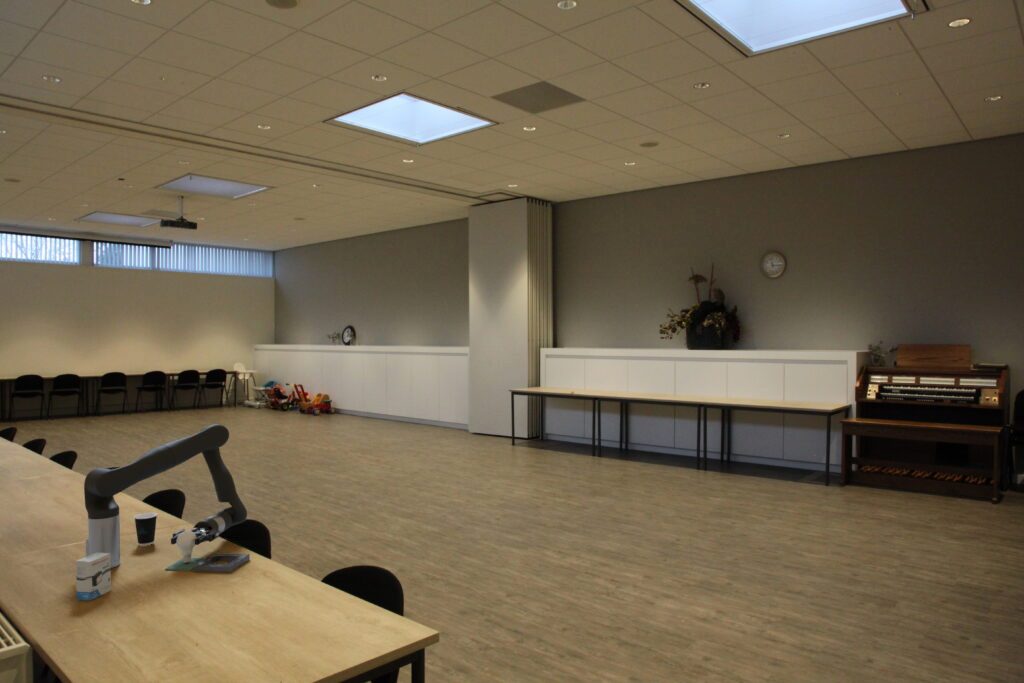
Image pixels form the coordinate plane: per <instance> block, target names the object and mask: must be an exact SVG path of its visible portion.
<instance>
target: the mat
mask: <svg viewBox="0 0 1024 683" xmlns="http://www.w3.org/2000/svg"><path fill="white" fill-rule="evenodd" d="M191 558H192V561H191V562H189V563H184V562H183V558H181V559H180V560H178V561H175V563H173V564H171V565H169V566H168V567H166V568H165V571H180V572H181V571H183V572H184V571H187V572H188V571H189V572H191V571H193V566H194V565H196V564H197V563H199V562H201V561H202V560H204V559H206V558H207V557H206V558H205V557H204V558H203V557H202V558H201V557H198V558H197V557H191Z"/></svg>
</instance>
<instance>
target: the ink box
mask: <svg viewBox="0 0 1024 683" xmlns="http://www.w3.org/2000/svg"><path fill="white" fill-rule="evenodd" d="M75 567H76V568H75V572H76V575H75V576H76V578H75V579H76V601H89V602H90V601H93V600H95V599H97V598H98V597H100V596H101V597H102V595H105V594H107V593H109V592H112V585H111V584H112V582H111V580H112V579H111V577H112V575H111V574H112V573H111V572H112V570H111V569H112V568H111V565H110V553H94V554H92V555H89V556H87V557H86V556H84V557H82V558H79V559H77V560H76V561H75Z"/></svg>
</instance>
